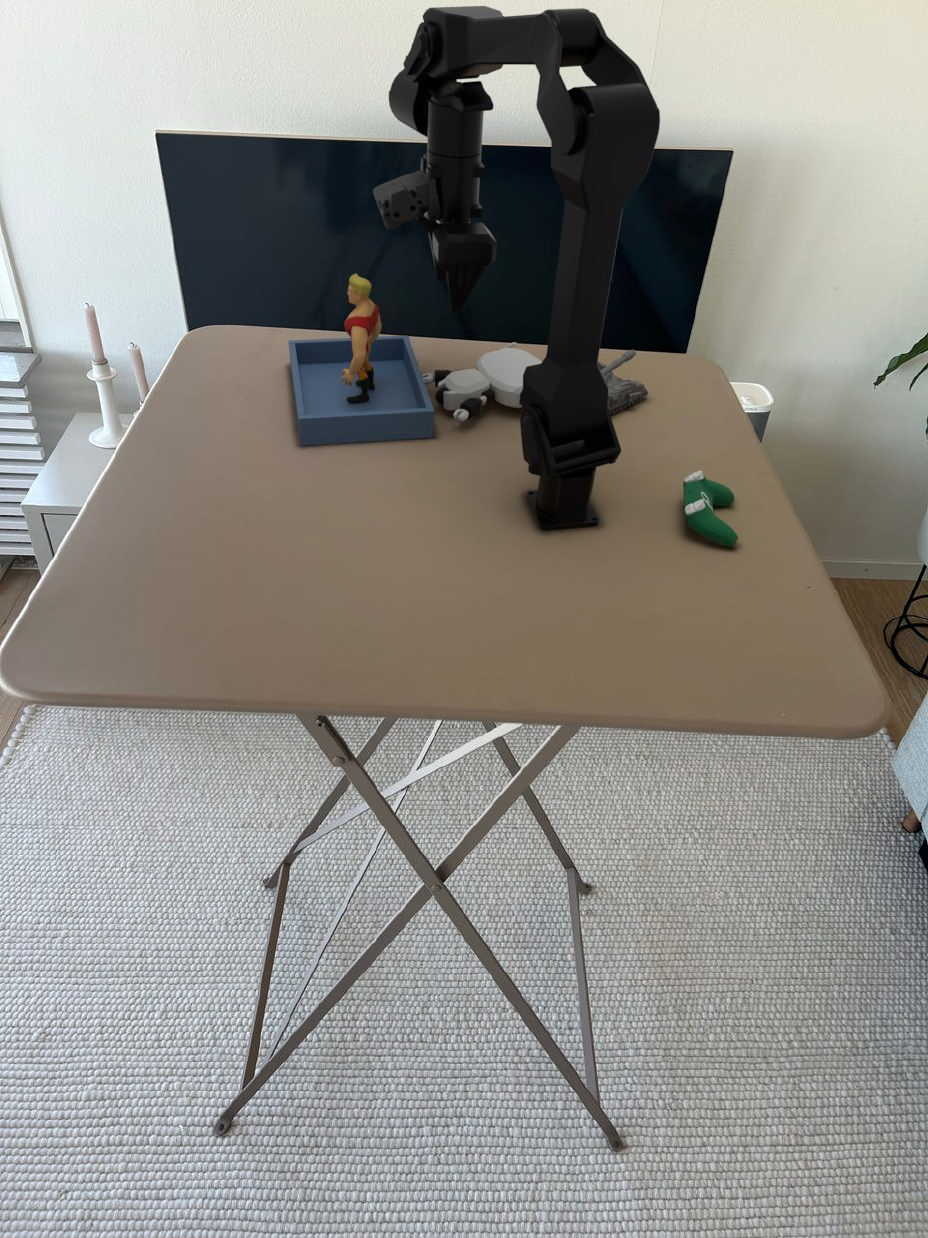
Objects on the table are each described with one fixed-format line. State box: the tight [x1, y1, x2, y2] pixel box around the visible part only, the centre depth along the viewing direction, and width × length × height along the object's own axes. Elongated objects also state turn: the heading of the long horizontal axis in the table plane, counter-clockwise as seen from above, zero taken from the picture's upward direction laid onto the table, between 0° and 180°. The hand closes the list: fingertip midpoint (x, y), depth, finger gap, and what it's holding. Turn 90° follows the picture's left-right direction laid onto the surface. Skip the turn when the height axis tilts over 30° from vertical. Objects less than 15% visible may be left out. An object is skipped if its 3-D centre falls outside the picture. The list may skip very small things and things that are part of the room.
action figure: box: [340, 273, 382, 403], centre depth 105 cm, size 10×4×15 cm, turn 170°
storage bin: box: [288, 335, 435, 447], centre depth 109 cm, size 20×16×4 cm
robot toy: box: [422, 341, 543, 422], centre depth 110 cm, size 12×4×15 cm
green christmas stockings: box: [682, 470, 739, 548], centre depth 94 cm, size 9×4×6 cm
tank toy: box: [598, 349, 649, 416], centre depth 112 cm, size 12×10×5 cm
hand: (448, 295), depth 103 cm, fingers open, 9 cm apart
